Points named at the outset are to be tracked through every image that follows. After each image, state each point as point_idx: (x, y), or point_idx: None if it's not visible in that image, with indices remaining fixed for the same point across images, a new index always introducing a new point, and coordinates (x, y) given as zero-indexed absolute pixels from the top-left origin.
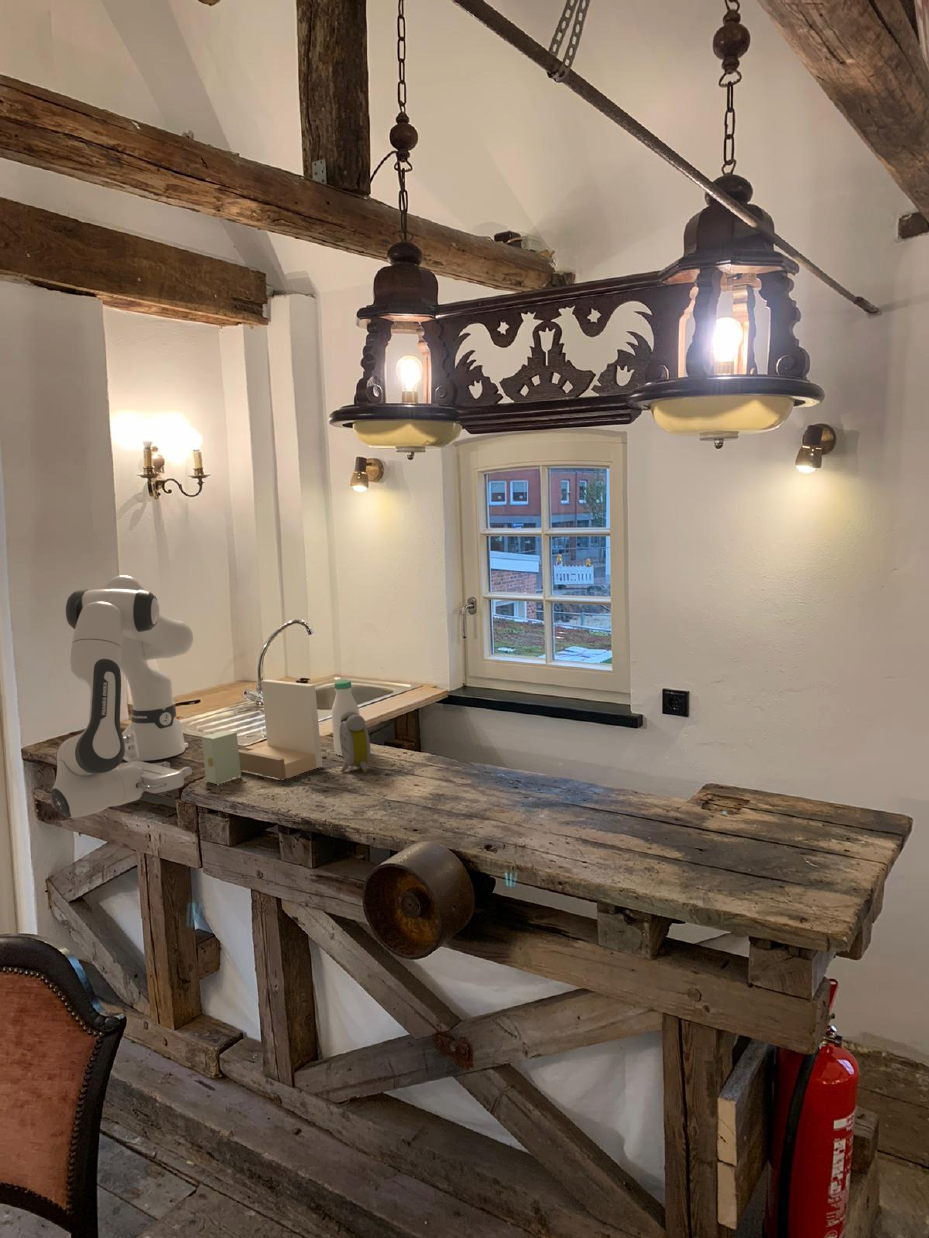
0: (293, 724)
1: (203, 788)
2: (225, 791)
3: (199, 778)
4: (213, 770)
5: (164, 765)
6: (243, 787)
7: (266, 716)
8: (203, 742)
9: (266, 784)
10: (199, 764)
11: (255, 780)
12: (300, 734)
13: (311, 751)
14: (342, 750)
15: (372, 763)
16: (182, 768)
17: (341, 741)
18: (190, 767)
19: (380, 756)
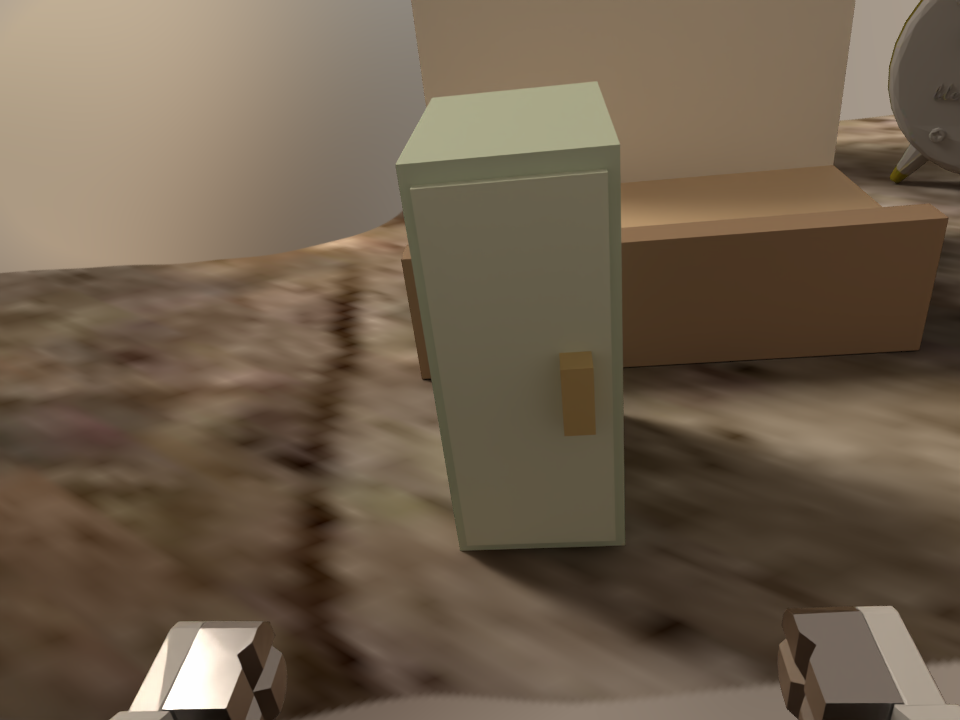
0: (677, 28)
1: (588, 640)
2: (866, 594)
3: (311, 529)
4: (591, 451)
5: (242, 718)
6: (864, 487)
7: (432, 30)
8: (445, 221)
9: (916, 401)
10: (90, 410)
11: (753, 398)
12: (729, 78)
13: (804, 157)
14: (932, 119)
15: (929, 165)
16: (860, 706)
17: (936, 72)
18: (895, 609)
19: (849, 144)
